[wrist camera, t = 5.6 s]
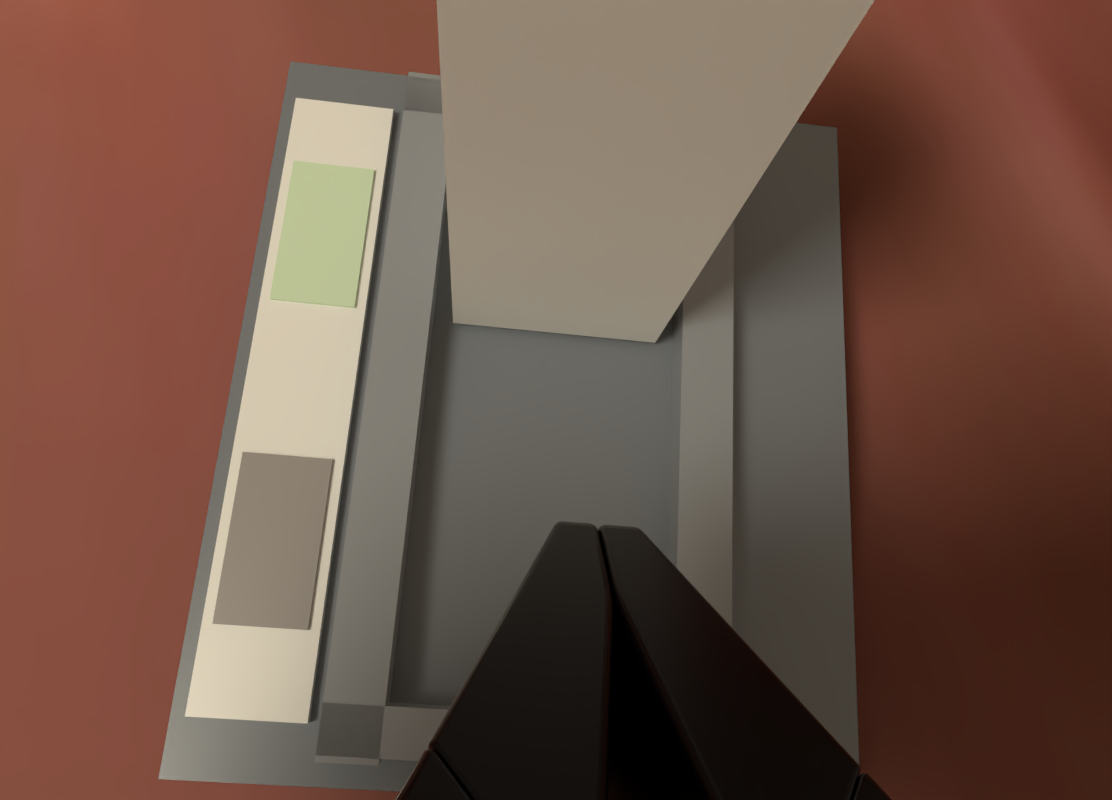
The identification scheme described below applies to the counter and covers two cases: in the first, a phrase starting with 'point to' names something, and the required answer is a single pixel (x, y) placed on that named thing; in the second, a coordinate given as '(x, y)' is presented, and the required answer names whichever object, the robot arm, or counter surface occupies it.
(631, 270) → the cream tall block
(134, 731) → the counter surface
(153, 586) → the counter surface
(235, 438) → the docking station
